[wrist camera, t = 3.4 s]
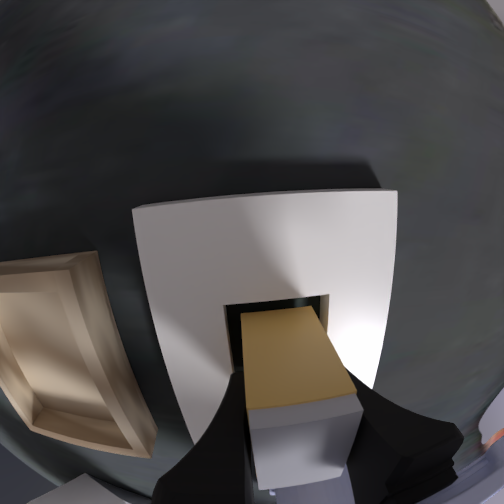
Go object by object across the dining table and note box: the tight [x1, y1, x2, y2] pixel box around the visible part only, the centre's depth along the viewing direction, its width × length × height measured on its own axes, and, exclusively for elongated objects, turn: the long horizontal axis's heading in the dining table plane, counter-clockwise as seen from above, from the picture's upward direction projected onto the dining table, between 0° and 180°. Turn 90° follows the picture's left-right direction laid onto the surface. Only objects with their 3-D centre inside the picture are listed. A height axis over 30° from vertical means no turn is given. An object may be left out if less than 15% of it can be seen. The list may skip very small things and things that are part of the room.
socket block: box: [132, 188, 397, 445], centre depth 14 cm, size 16×12×2 cm
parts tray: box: [0, 251, 158, 458], centre depth 13 cm, size 14×12×3 cm
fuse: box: [241, 306, 364, 490], centre depth 11 cm, size 5×4×7 cm
